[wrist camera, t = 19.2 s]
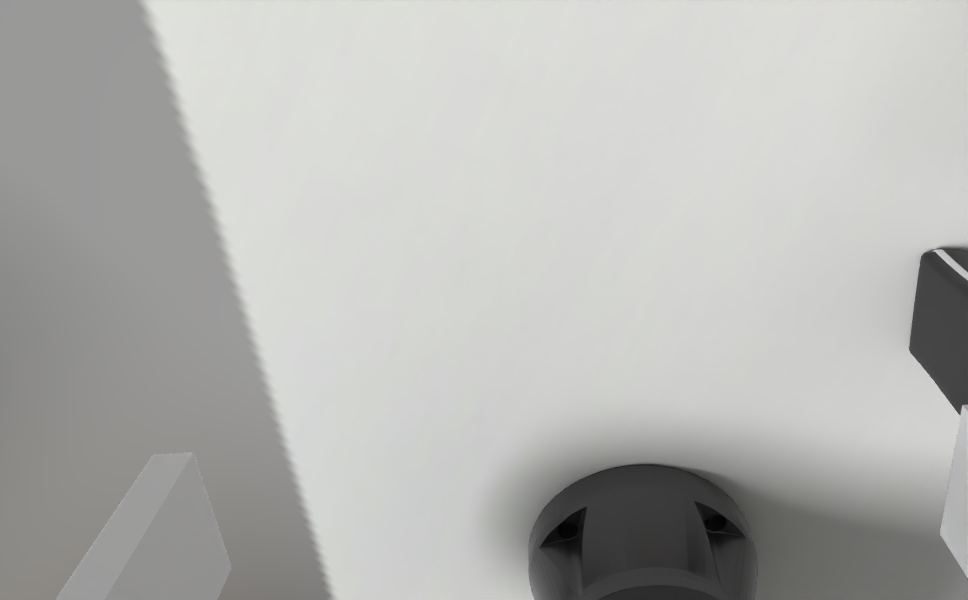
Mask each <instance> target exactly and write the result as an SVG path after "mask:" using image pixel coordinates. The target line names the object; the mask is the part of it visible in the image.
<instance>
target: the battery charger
mask: <svg viewBox="0 0 968 600" xmlns="http://www.w3.org/2000/svg"><path fill="white" fill-rule="evenodd" d="M909 350H910V353H911V354H912V355H913V356H914V357H915V358H916V360H917V361H918V362H919V363H920V364H921V365H922V367H923V368H924V369H925V370H926V371H927V373H928V374H929V375H930V376H931V378H932V379H933V380H934V381H935V383H936V384H937V386H938V387H939V388H940V390H941V391H942V392H943V394H944V395H945V396H946V398H947V399H948V400H949V402H950V403H951V404H952V406H953V407H954V408H955V410H956V411H957V412H958V414H959V415H961V410H962V405H968V252H966V251H959V250H946V251H944V250H942V249H939V250H933V251H932V252H926V253H924V254H923V255H922V257H921V261H920V268H919V275H918V282H917V289H916V296H915V304H914V312H913V320H912V328H911V337H910V346H909Z"/></svg>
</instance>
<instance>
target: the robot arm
mask: <svg viewBox="0 0 968 600" xmlns="http://www.w3.org/2000/svg"><path fill="white" fill-rule="evenodd" d="M940 535H941V537H942V538H943V540H944V542H945V543H946V545H947V546H948V548H949V549H950V551H951V553H952V554H953V556H954V557H955V559H956V560H957V562H958V564H959V565H960V567H961V568H962V570H963V571H964V573H965V575H966V576H967V578H968V405H962V410H961V415H960V421H959V427H958V432H957V438H956V444H955V449H954V455H953V461H952V467H951V472H950V478H949V484H948V489H947V495H946V501H945V506H944V512H943V518H942V524H941V529H940ZM231 568H232V567H231V564H230V561H229V558H228V555H227V552H226V549H225V546H224V543H223V539H222V536H221V533H220V531H219V528H218V524H217V521H216V518H215V515H214V513H213V509H212V506H211V503H210V500H209V497H208V495H207V491H206V488H205V486H204V482H203V479H202V477H201V473H200V470H199V468H198V464H197V461H196V458H195V455H194V453H193V452H190V453H173V454H157V455H152V457H151V458H150V460H149V461H148V463H147V464H146V466H145V467H144V469H143V470H142V471H141V473H140V475H139V476H138V477H137V479H136V481H135V482H134V483H133V485H132V486H131V488H130V489H129V491H128V492H127V494H126V495H125V497H124V498H123V500H122V501H121V503H120V504H119V506H118V507H117V509H116V510H115V512H114V513H113V514H112V516H111V518H110V519H109V520H108V522H107V524H106V525H105V526H104V528H103V529H102V531H101V532H100V534H99V535H98V537H97V538H96V540H95V541H94V543H93V544H92V546H91V547H90V549H89V550H88V552H87V553H86V555H85V556H84V558H83V559H82V560H81V562H80V564H79V565H78V567H77V568H76V569H75V571H74V573H73V574H72V575H71V577H70V578H69V580H68V581H67V583H66V584H65V586H64V587H63V589H62V590H61V592H60V593H59V595H58V596H57V598H56V599H55V600H217V599H218V597H219V594H220V592H221V590H222V588H223V586H224V583H225V581H226V579H227V577H228V574H229V572H230V570H231ZM757 573H758V566H757V557H756V551H755V547H754V544H753V541H752V538H751V535H750V532H749V529H748V526H747V523H746V521H745V519H744V517H743V515H742V513H741V511H740V510H739V508H738V507H737V505H736V504H735V503H734V502H733V501H732V500H731V499H730V498H729V496H728V495H726V494H725V493H724V492H723V491H722V490H720V489H719V488H718V487H716V486H715V485H713V484H712V483H710V482H708V481H706V480H705V479H703V478H700V477H698V476H696V475H693V474H691V473H688V472H685V471H681V470H678V469H673V468H668V467H661V466H647V465H640V466H626V467H619V468H614V469H609V470H605V471H602V472H598V473H596V474H593V475H590V476H588V477H585V478H583V479H581V480H579V481H577V482H575V483H574V484H572V485H570V486H569V487H567V488H566V489H564V490H563V491H562V492H560V493H559V494H558V495H557V496H556V497H555V498H553V499H552V500H551V501H550V503H549V504H548V505H547V506H546V507H545V508H544V510H543V511H542V512H541V514H540V515H539V517H538V519H537V521H536V523H535V525H534V527H533V530H532V533H531V537H530V542H529V580H530V586H531V590H532V593H533V596H534V599H535V600H755V593H756V583H757Z"/></svg>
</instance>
